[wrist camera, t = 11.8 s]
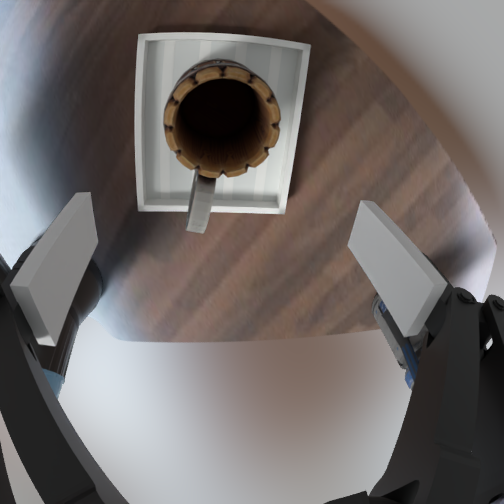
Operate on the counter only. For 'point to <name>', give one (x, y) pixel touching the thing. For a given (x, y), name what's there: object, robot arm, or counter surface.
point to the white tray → (156, 95)
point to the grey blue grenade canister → (399, 340)
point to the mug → (219, 127)
